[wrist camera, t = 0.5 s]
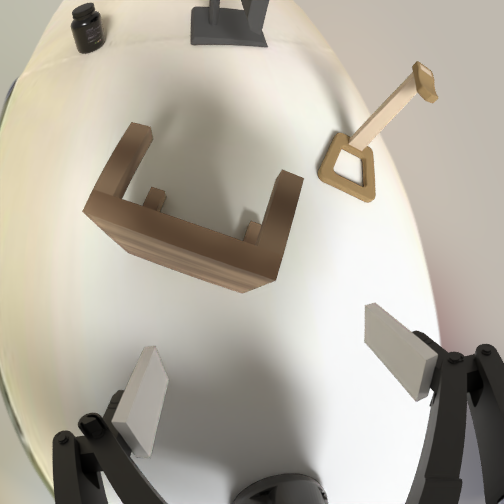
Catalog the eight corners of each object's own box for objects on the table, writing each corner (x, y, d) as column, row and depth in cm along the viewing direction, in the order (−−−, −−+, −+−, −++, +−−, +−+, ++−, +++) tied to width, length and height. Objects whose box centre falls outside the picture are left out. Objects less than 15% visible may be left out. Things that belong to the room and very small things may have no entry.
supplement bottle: (72, 52, 39) (61, 14, 27) (94, 36, 41) (87, -1, 29) (88, 57, 39) (77, 16, 28) (111, 40, 41) (104, 0, 29)
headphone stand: (315, 179, 41) (397, 88, 20) (327, 130, 44) (392, 43, 23) (370, 205, 43) (467, 141, 21) (376, 156, 45) (452, 87, 24)
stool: (242, 293, 36) (275, 280, 20) (128, 252, 34) (82, 211, 18) (261, 230, 38) (303, 178, 23) (153, 192, 36) (131, 122, 21)
